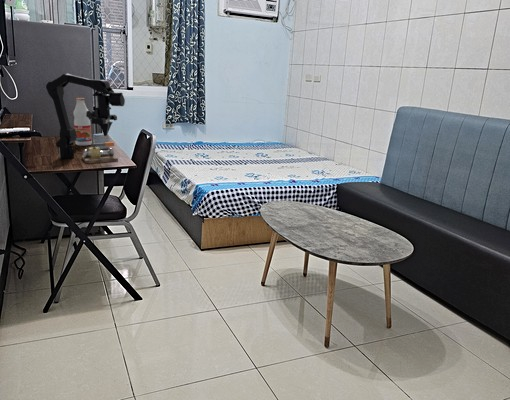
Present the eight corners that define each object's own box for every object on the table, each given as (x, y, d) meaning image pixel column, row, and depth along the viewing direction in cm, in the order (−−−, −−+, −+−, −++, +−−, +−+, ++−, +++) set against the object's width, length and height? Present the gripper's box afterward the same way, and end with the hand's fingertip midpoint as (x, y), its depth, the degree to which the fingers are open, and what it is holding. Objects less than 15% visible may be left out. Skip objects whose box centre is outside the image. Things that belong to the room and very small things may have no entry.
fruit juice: (94, 143, 276) (91, 97, 268) (88, 146, 267) (84, 99, 259) (80, 142, 277) (76, 97, 268) (73, 145, 268) (68, 98, 259)
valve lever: (91, 147, 229) (91, 143, 229) (91, 146, 232) (91, 142, 231) (114, 146, 234) (114, 142, 233) (113, 145, 236) (113, 141, 236)
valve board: (86, 163, 223) (85, 150, 221) (81, 158, 234) (80, 145, 232) (118, 161, 231) (117, 148, 229) (112, 156, 242) (111, 143, 240)
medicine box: (105, 147, 266) (104, 133, 263) (109, 148, 263) (108, 133, 260) (93, 148, 260) (92, 134, 257) (97, 150, 257) (96, 135, 254)
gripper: (96, 103, 233) (98, 132, 238) (79, 106, 216) (82, 137, 220) (116, 104, 233) (118, 133, 237) (101, 107, 215) (103, 139, 220)
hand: (105, 135), depth 229 cm, fingers closed
